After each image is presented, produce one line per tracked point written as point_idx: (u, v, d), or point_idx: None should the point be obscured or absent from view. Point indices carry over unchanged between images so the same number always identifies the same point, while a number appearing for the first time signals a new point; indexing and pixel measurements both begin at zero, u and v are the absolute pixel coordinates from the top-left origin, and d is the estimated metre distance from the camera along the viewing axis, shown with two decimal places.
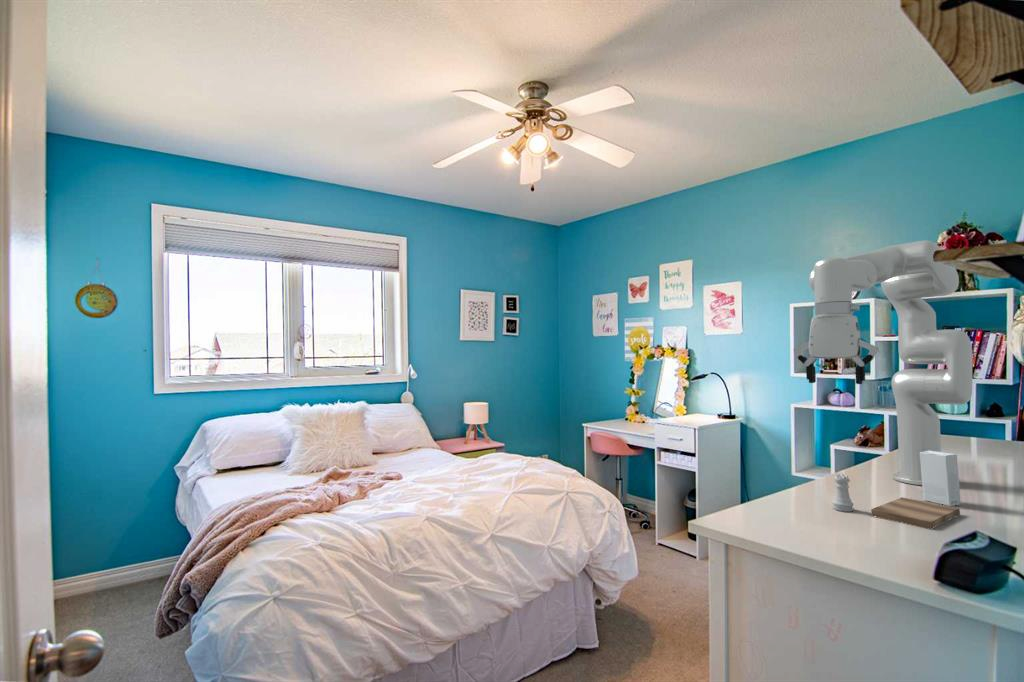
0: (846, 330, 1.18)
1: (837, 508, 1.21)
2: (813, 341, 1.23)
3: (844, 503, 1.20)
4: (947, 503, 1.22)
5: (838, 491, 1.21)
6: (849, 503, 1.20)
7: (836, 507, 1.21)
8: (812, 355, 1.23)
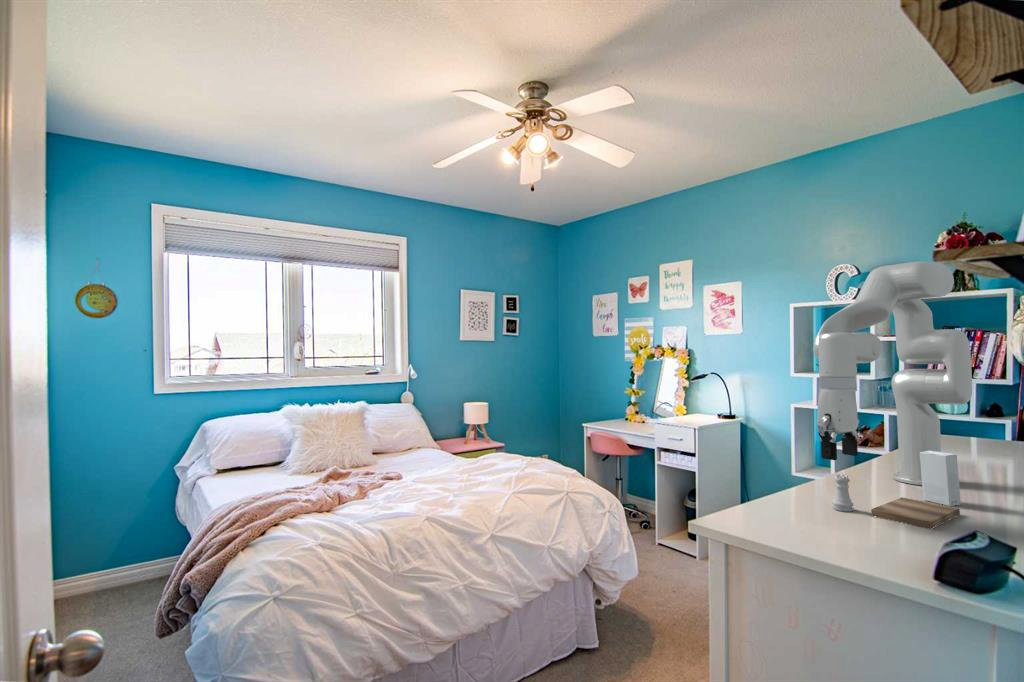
0: (855, 404, 1.22)
1: (837, 508, 1.21)
2: (840, 416, 1.18)
3: (844, 503, 1.20)
4: (947, 503, 1.22)
5: (838, 491, 1.21)
6: (849, 503, 1.20)
7: (836, 507, 1.21)
8: (839, 431, 1.18)
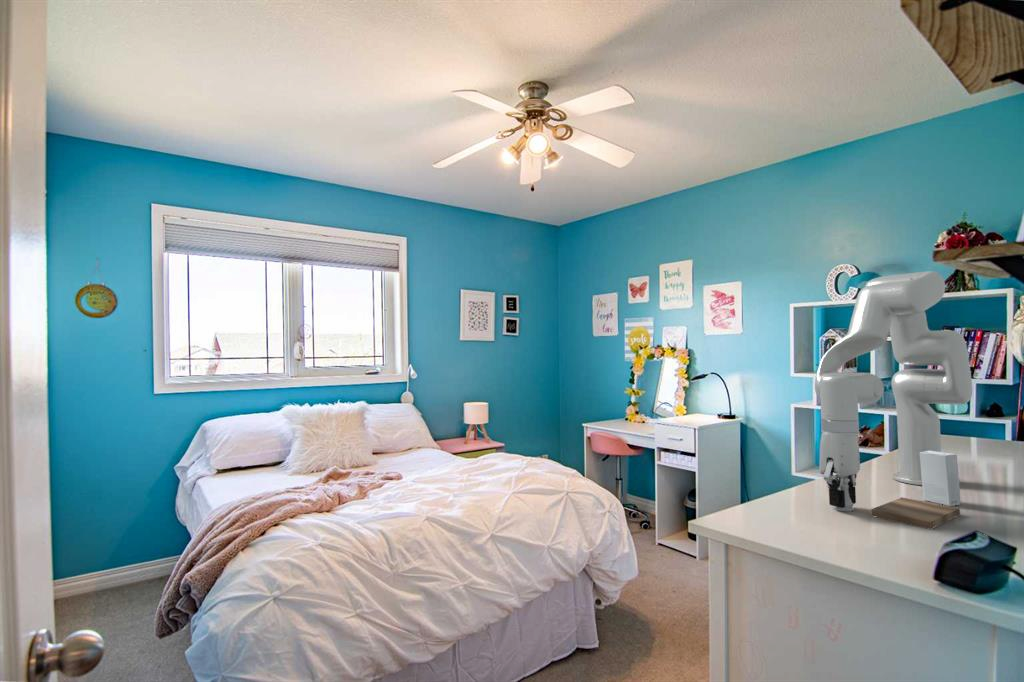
0: (857, 447, 1.22)
1: (837, 508, 1.21)
2: (843, 460, 1.18)
3: None
4: (947, 503, 1.22)
5: None
6: (849, 503, 1.20)
7: (836, 507, 1.21)
8: (841, 475, 1.18)
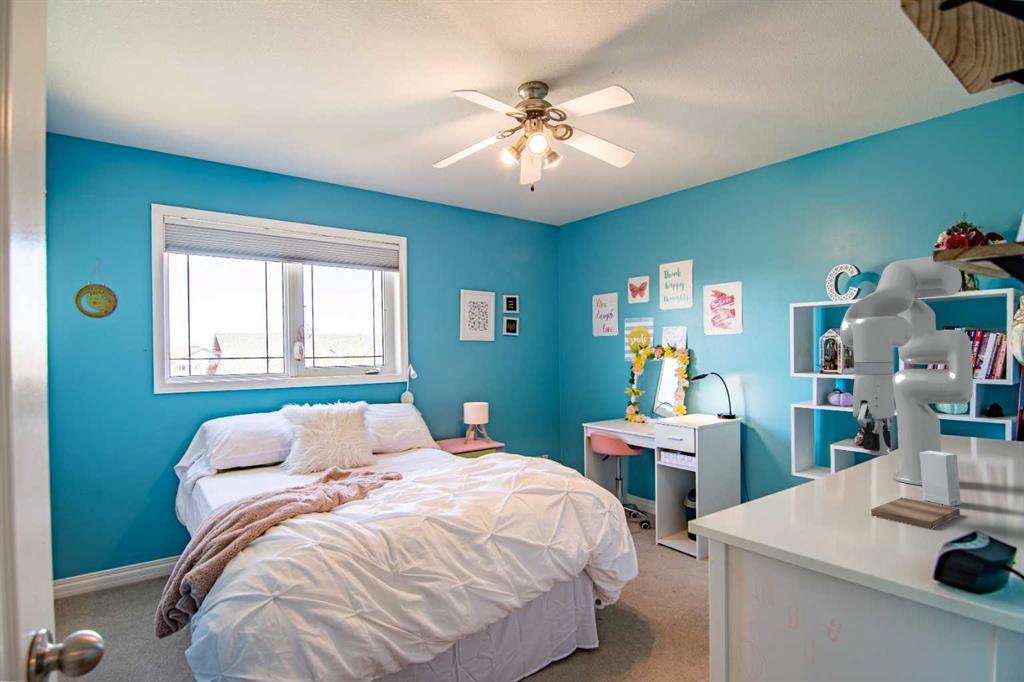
0: (892, 390, 1.19)
1: (871, 452, 1.18)
2: (877, 402, 1.16)
3: None
4: (947, 503, 1.22)
5: None
6: (884, 447, 1.17)
7: (870, 451, 1.19)
8: (876, 417, 1.16)
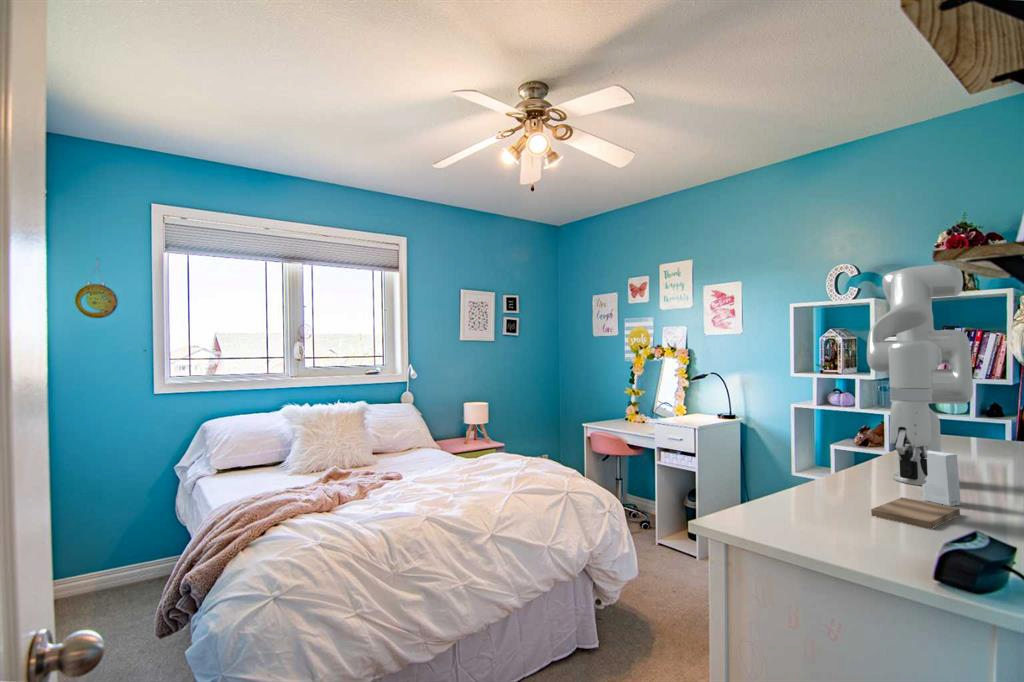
0: (929, 417, 1.16)
1: (909, 480, 1.15)
2: (916, 429, 1.13)
3: None
4: (947, 503, 1.22)
5: None
6: (922, 475, 1.14)
7: (907, 479, 1.16)
8: (915, 445, 1.13)
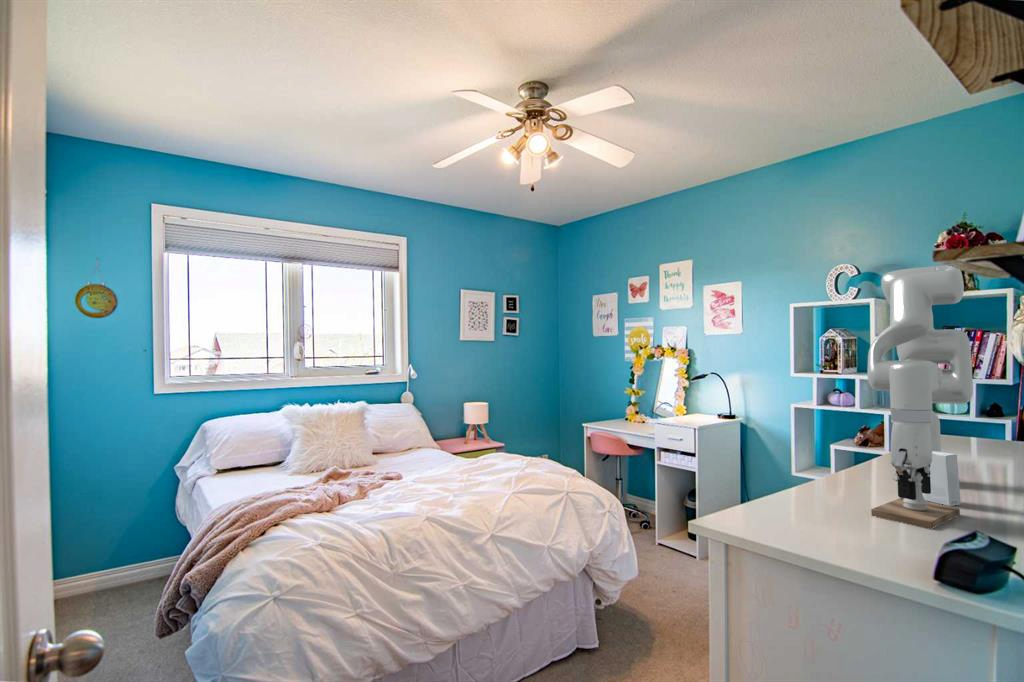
0: (930, 437, 1.16)
1: (910, 507, 1.15)
2: (917, 451, 1.13)
3: (918, 501, 1.15)
4: (947, 503, 1.22)
5: None
6: (923, 502, 1.14)
7: (909, 506, 1.16)
8: (916, 467, 1.12)
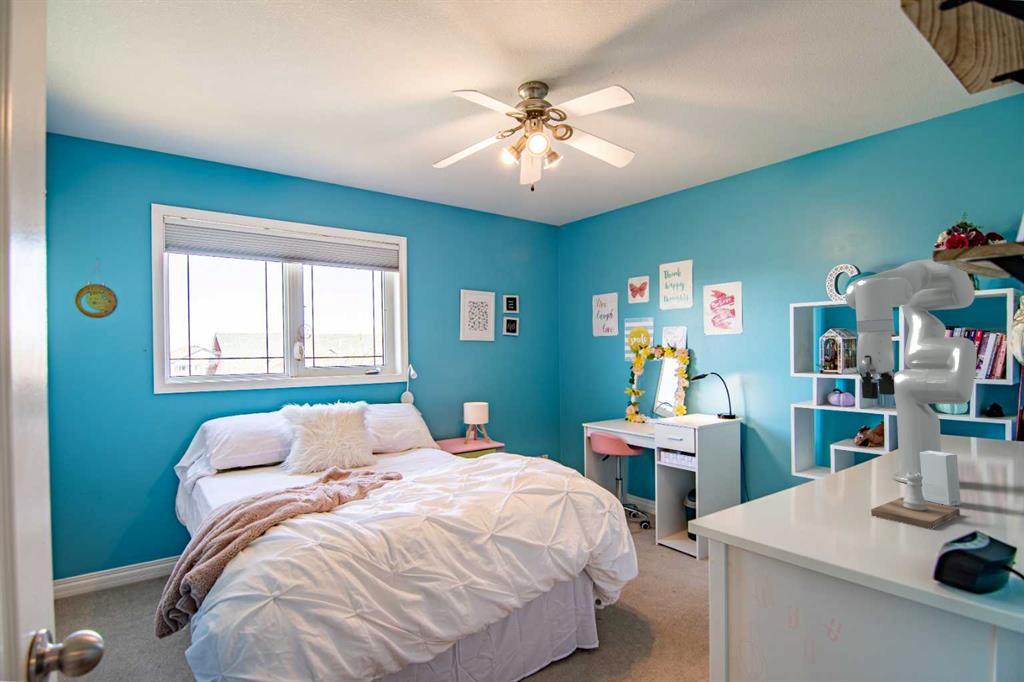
0: (891, 346, 1.28)
1: (910, 507, 1.15)
2: (880, 357, 1.24)
3: (918, 501, 1.15)
4: (947, 503, 1.22)
5: (910, 489, 1.16)
6: (923, 502, 1.14)
7: (909, 506, 1.16)
8: (879, 371, 1.24)
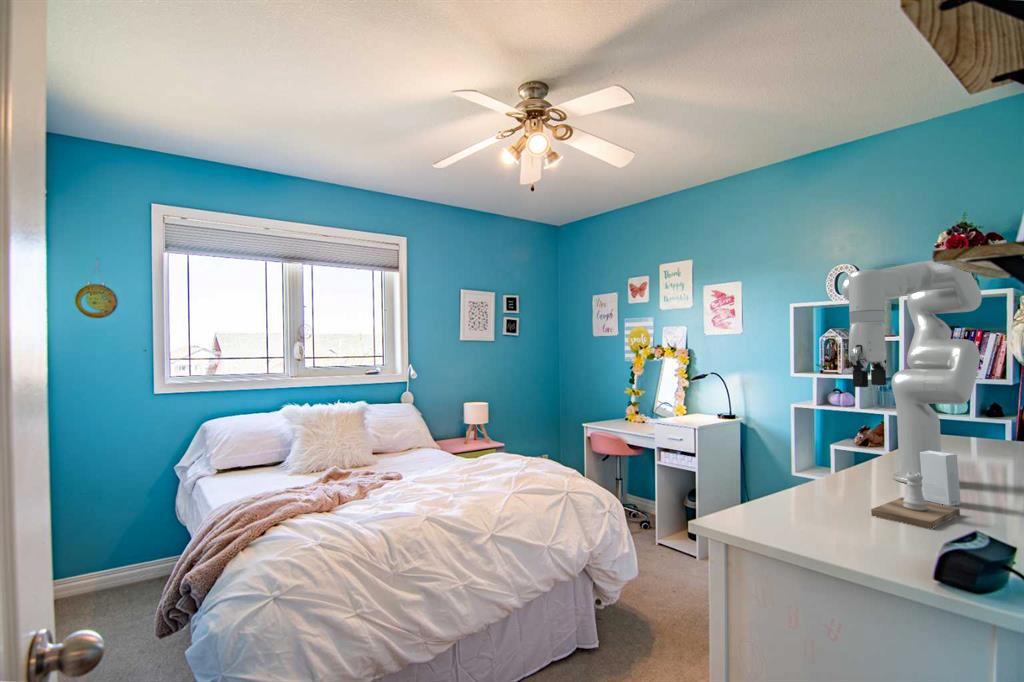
0: (883, 337, 1.31)
1: (910, 507, 1.15)
2: (871, 346, 1.27)
3: (918, 501, 1.15)
4: (947, 503, 1.22)
5: (910, 489, 1.16)
6: (923, 502, 1.14)
7: (909, 506, 1.16)
8: (869, 360, 1.27)
